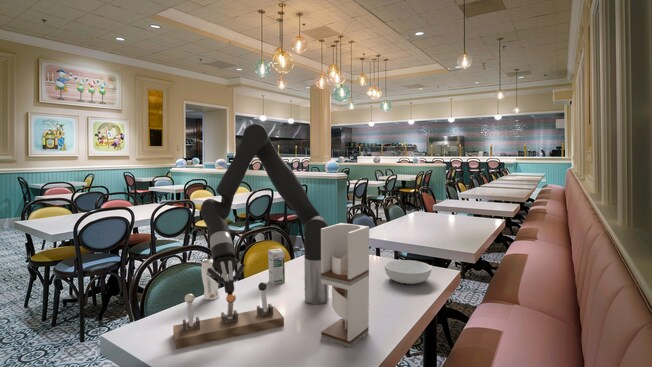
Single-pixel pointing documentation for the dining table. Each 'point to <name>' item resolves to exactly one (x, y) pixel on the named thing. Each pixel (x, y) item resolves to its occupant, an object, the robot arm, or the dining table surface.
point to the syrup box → (276, 266)
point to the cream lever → (190, 311)
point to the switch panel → (226, 326)
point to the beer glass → (209, 281)
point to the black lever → (263, 297)
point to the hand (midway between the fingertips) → (230, 293)
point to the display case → (346, 280)
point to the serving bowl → (408, 271)
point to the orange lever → (230, 306)
